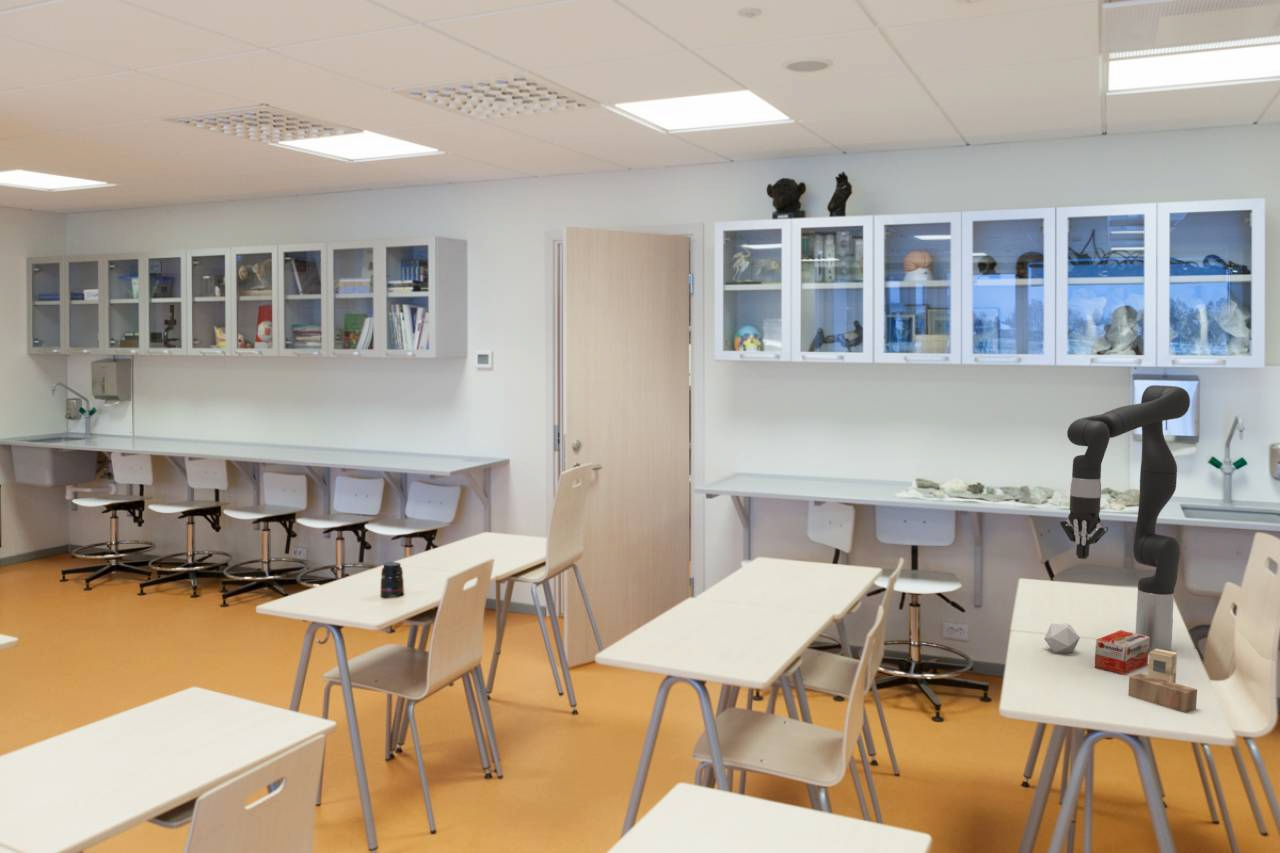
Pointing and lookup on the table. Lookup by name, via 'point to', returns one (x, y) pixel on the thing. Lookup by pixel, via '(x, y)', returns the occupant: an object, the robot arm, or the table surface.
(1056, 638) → the die
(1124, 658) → the medicine box
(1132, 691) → the walnut block
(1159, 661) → the maple block
